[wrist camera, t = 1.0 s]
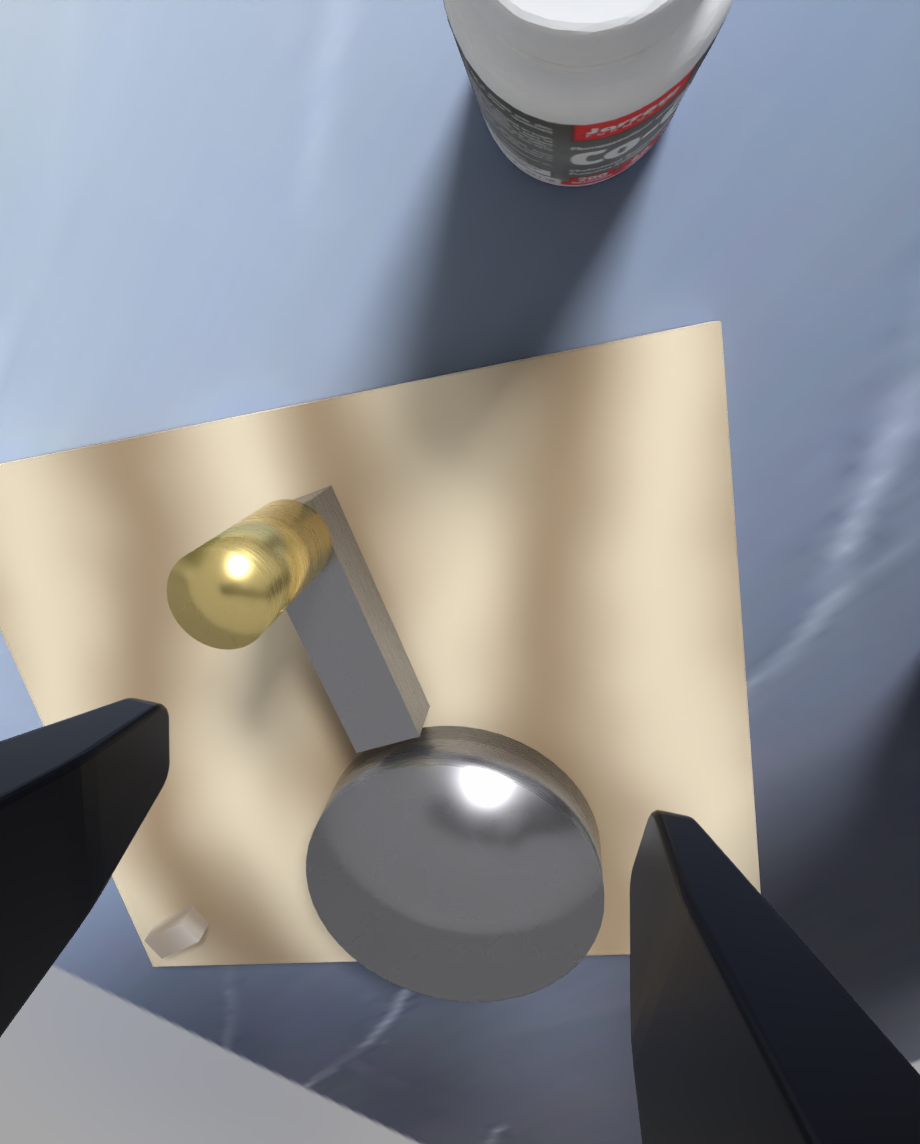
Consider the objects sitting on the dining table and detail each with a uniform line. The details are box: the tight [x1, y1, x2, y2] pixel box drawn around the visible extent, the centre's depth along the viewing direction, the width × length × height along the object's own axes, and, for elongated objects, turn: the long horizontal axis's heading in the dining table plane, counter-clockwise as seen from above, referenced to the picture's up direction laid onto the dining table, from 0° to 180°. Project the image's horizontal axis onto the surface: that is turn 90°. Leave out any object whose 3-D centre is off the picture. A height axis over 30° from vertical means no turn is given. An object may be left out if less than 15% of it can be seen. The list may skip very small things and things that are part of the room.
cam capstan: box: [166, 485, 605, 1002], centre depth 18 cm, size 17×9×6 cm, turn 21°
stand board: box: [0, 321, 761, 967], centre depth 22 cm, size 23×20×2 cm
